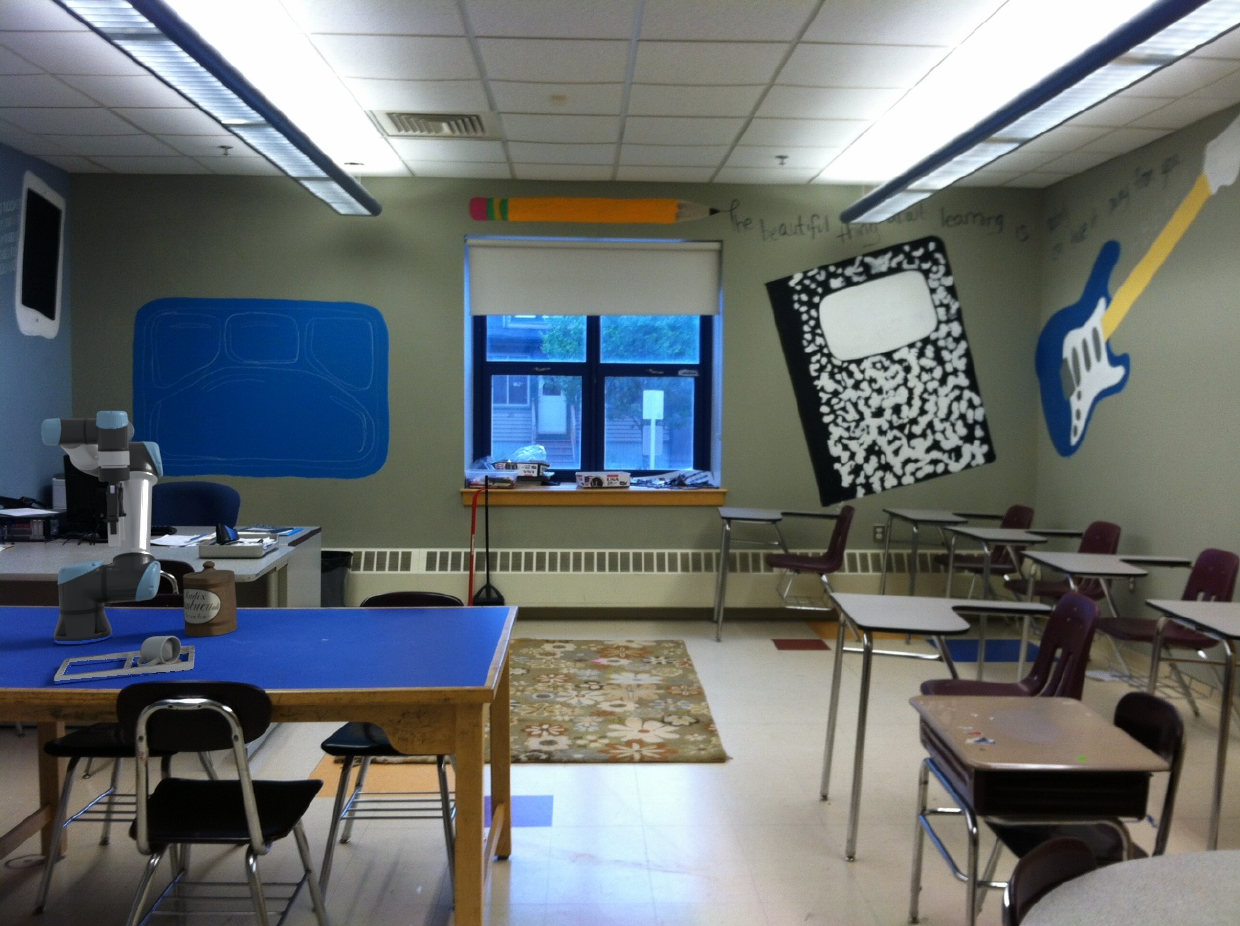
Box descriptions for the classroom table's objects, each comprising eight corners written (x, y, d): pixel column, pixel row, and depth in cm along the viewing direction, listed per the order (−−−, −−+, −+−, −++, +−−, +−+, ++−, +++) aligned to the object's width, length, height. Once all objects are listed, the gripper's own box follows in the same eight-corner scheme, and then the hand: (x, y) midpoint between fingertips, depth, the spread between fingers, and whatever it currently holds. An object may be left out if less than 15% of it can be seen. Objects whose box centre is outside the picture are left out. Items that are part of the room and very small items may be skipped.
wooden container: (173, 635, 271) (171, 564, 270) (208, 624, 285) (206, 556, 284) (214, 638, 267) (212, 566, 266) (247, 627, 281) (245, 558, 280)
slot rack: (65, 665, 238) (65, 658, 238) (194, 652, 251) (194, 645, 251) (54, 685, 221) (54, 677, 220) (193, 669, 234) (193, 661, 234)
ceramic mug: (158, 658, 244) (157, 631, 243) (182, 659, 242) (181, 633, 241) (129, 668, 234) (127, 641, 234) (153, 670, 232) (152, 643, 232)
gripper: (103, 465, 254) (105, 538, 255) (92, 469, 232) (95, 550, 233) (132, 464, 257) (135, 537, 258) (125, 468, 235) (128, 548, 236)
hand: (116, 543), depth 246 cm, fingers open, 13 cm apart
